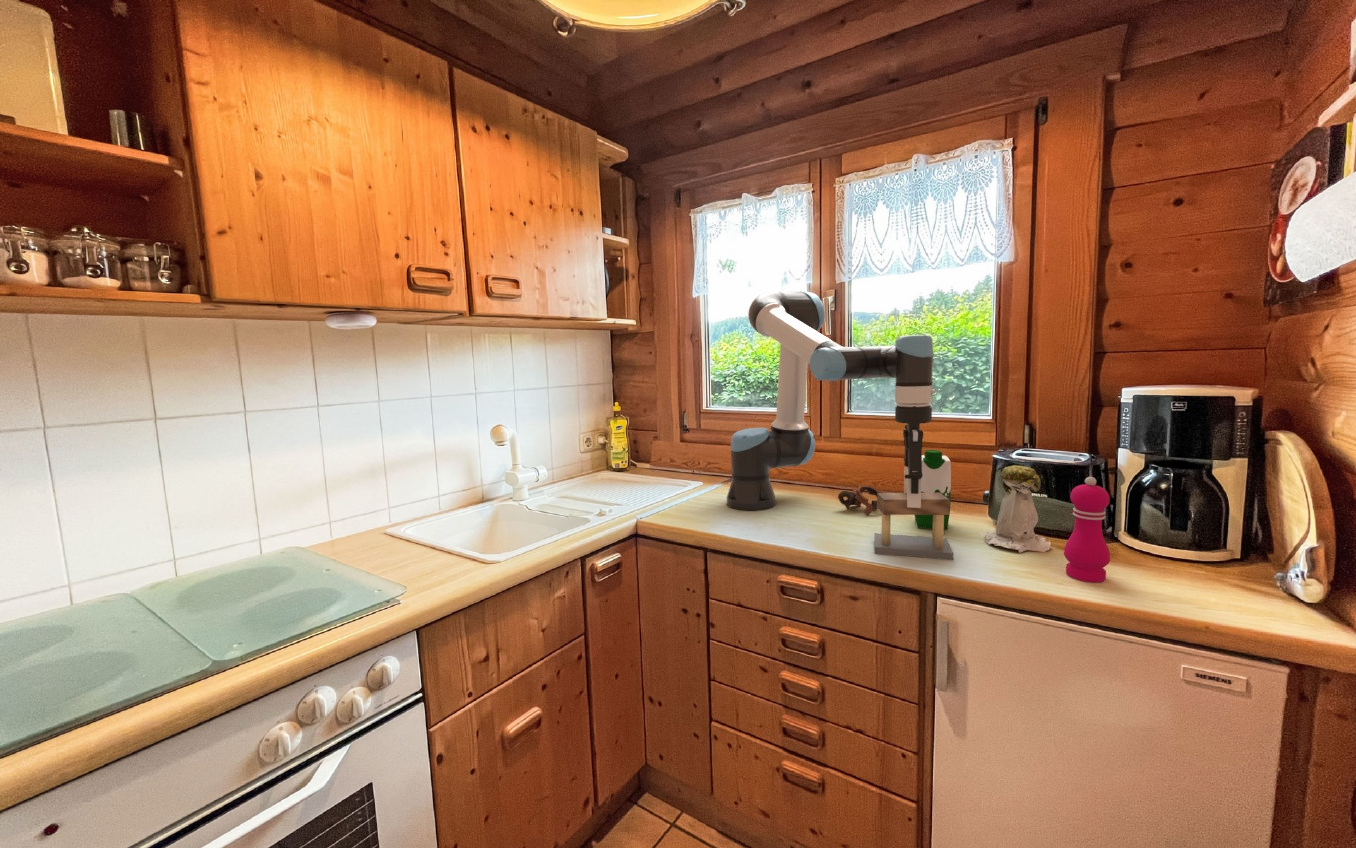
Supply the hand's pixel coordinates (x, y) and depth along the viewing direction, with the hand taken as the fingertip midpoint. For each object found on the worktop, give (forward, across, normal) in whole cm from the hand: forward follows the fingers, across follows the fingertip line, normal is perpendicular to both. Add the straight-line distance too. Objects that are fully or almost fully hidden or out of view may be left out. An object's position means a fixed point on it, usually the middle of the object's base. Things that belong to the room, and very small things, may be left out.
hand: (912, 500), depth 121 cm
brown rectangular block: (+2, 0, 0) cm, 2 cm away
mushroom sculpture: (+12, +9, -23) cm, 27 cm away
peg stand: (+11, 0, 0) cm, 11 cm away
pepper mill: (+12, -8, -31) cm, 34 cm away
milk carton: (+12, +20, -6) cm, 24 cm away
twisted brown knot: (+12, +30, +12) cm, 34 cm away
